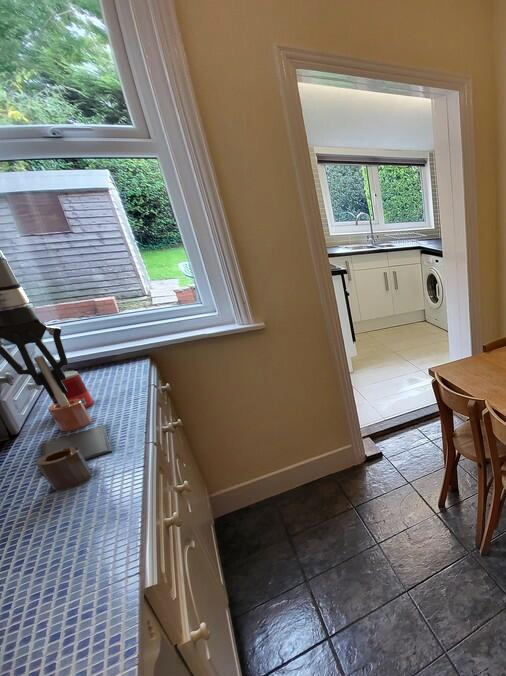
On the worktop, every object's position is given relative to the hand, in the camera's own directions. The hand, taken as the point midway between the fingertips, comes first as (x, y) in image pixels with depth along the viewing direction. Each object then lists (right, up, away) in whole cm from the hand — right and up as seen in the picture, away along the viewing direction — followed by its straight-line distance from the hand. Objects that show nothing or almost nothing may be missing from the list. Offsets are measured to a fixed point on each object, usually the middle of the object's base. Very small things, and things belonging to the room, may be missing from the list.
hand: (58, 393), depth 110 cm
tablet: (+13, -14, -8) cm, 21 cm away
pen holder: (+1, -9, +4) cm, 10 cm away
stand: (+26, -19, -20) cm, 38 cm away
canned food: (-11, -5, +15) cm, 19 cm away
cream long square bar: (+1, -4, +1) cm, 5 cm away
